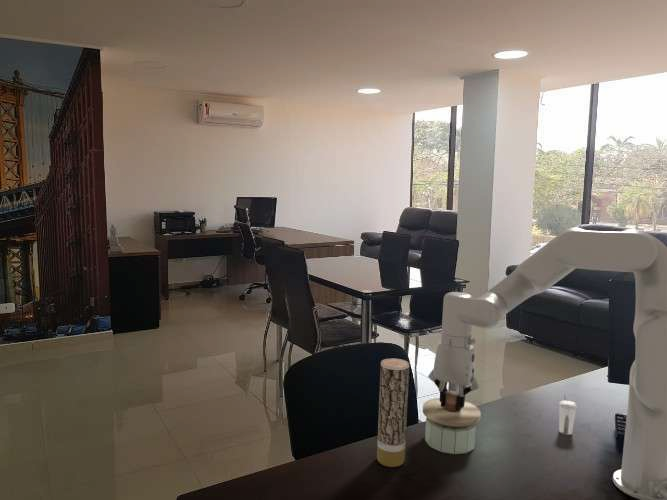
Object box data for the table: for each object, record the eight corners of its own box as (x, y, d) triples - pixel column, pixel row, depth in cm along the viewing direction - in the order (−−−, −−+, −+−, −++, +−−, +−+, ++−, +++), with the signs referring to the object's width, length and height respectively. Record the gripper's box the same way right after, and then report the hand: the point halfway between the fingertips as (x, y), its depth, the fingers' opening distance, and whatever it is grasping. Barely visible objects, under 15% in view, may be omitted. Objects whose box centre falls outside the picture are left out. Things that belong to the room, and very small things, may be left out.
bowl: (483, 451, 135) (485, 429, 135) (437, 455, 132) (438, 433, 132) (461, 428, 148) (462, 408, 147) (418, 432, 145) (419, 411, 144)
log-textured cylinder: (382, 470, 125) (386, 368, 122) (372, 455, 132) (376, 359, 128) (408, 466, 127) (413, 366, 124) (398, 452, 133) (402, 357, 130)
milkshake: (570, 428, 150) (573, 394, 149) (576, 437, 145) (580, 402, 144) (553, 427, 151) (556, 393, 149) (559, 435, 145) (562, 401, 144)
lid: (491, 423, 134) (493, 402, 133) (437, 428, 130) (438, 407, 129) (463, 400, 148) (464, 381, 148) (413, 404, 145) (414, 384, 144)
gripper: (491, 342, 135) (486, 410, 138) (431, 331, 144) (427, 395, 147) (483, 349, 129) (478, 420, 131) (420, 337, 138) (416, 404, 140)
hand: (451, 406), depth 139 cm, fingers closed on lid, 3 cm apart
